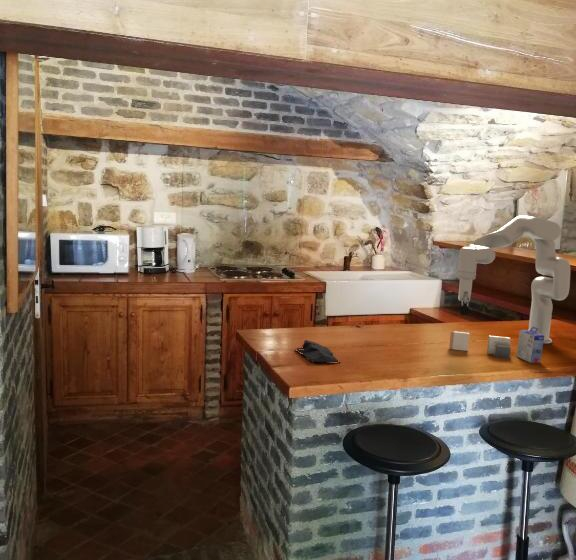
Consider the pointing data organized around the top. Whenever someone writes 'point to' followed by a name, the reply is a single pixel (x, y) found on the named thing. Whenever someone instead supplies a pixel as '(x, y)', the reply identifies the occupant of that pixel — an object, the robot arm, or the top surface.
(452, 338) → the grey flat block
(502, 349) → the ticket holder
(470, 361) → the top surface
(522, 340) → the ink cartridge box
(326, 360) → the dark fabric pouch
